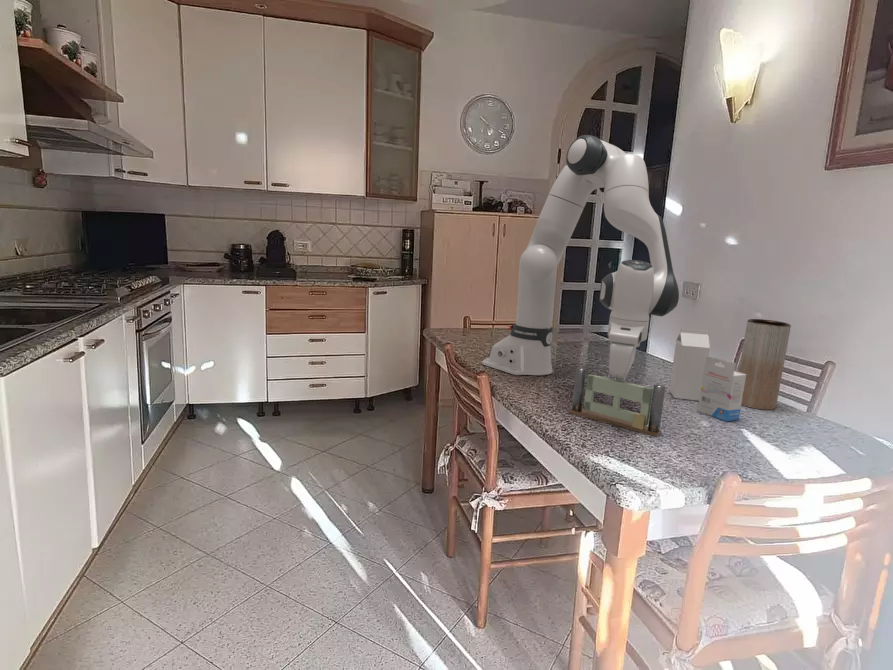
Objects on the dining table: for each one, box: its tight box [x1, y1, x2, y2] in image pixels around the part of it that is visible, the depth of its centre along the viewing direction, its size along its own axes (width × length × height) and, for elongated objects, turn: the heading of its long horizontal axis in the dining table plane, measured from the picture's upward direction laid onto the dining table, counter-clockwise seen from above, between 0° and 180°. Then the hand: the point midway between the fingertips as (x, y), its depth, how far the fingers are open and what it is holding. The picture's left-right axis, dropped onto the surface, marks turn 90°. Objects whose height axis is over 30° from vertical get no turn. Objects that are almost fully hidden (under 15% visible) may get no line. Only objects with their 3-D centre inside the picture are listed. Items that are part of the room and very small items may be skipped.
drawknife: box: [568, 366, 666, 437], centre depth 125 cm, size 21×3×11 cm, turn 51°
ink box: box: [697, 355, 746, 422], centre depth 135 cm, size 8×5×15 cm, turn 26°
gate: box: [583, 373, 653, 426], centre depth 125 cm, size 15×1×8 cm, turn 51°
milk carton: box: [669, 327, 711, 402], centre depth 149 cm, size 7×7×19 cm
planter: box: [738, 318, 792, 411], centre depth 145 cm, size 10×10×23 cm
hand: (619, 386), depth 130 cm, fingers closed
